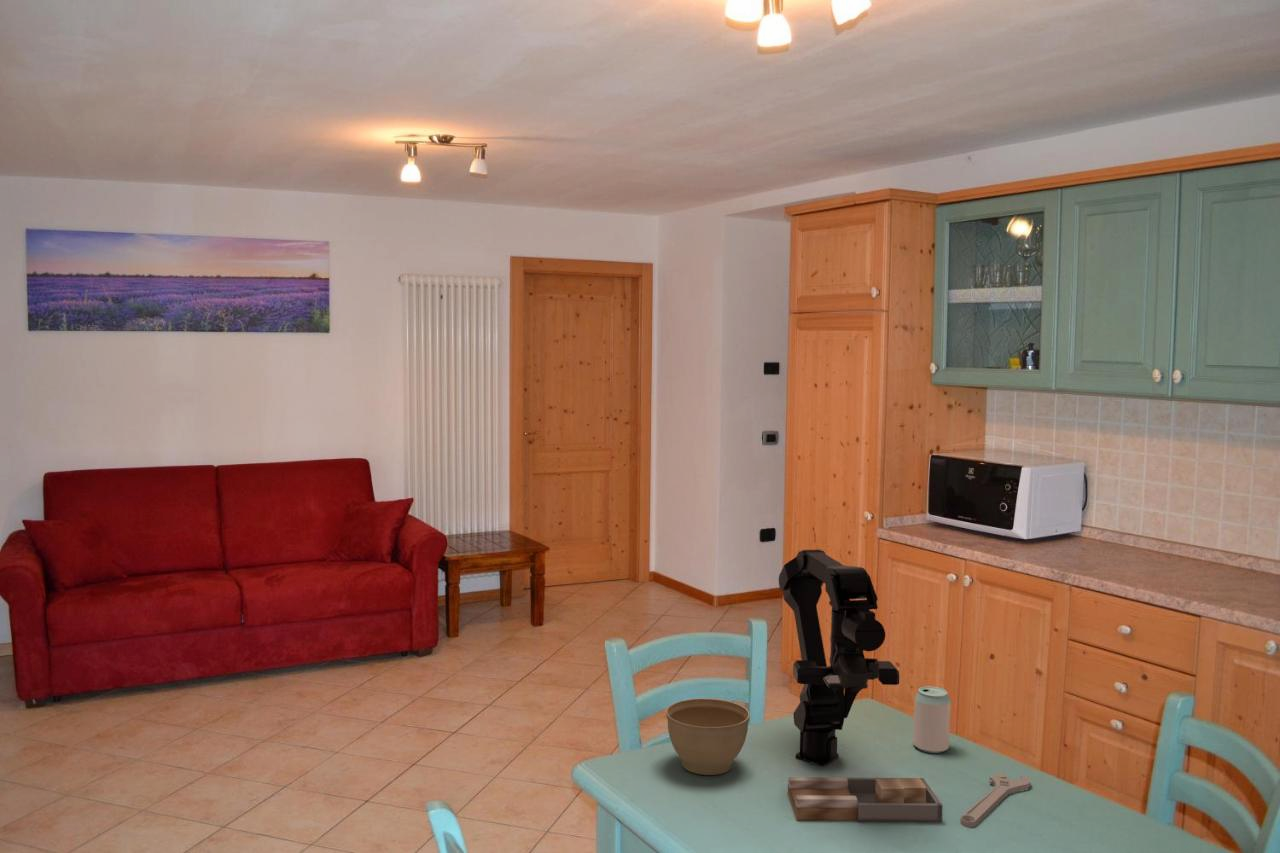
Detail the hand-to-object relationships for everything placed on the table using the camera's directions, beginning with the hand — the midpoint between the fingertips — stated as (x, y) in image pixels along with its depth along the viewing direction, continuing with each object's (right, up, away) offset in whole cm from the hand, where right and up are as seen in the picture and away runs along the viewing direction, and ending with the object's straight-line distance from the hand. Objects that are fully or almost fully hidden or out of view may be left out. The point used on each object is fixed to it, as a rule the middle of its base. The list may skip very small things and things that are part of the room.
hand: (844, 717), depth 185 cm
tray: (+7, -14, -8) cm, 17 cm away
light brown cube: (+10, -13, -8) cm, 19 cm away
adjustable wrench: (+26, -14, -4) cm, 30 cm away
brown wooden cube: (+6, -13, -8) cm, 17 cm away
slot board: (-6, -14, -8) cm, 17 cm away
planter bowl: (-25, -12, +9) cm, 29 cm away
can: (+22, -12, +19) cm, 31 cm away
